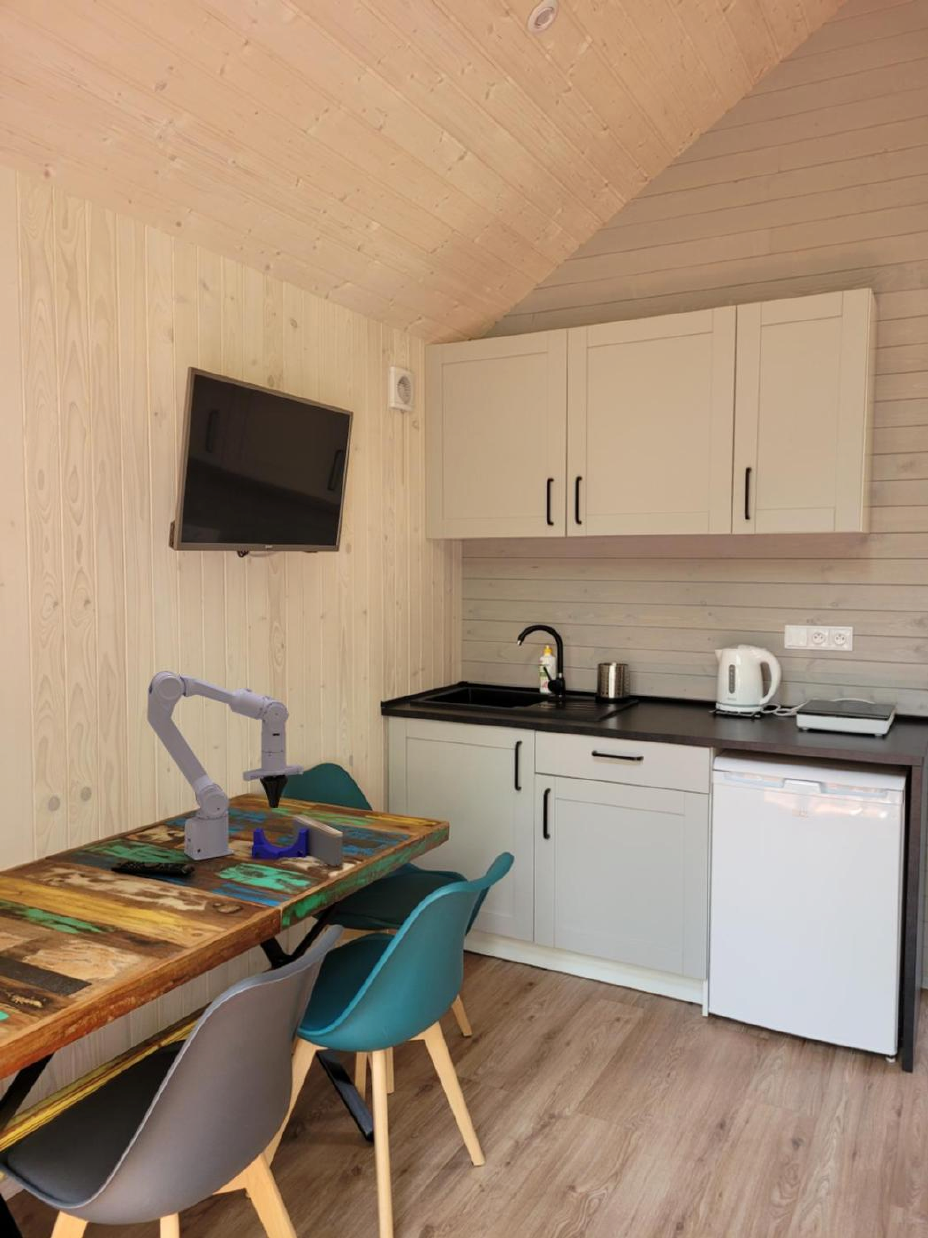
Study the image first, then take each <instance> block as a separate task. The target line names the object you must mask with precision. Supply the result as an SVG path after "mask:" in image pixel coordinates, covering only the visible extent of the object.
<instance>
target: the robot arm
mask: <svg viewBox="0 0 928 1238" xmlns="http://www.w3.org/2000/svg"><path fill="white" fill-rule="evenodd" d="M177 675H178V676H177ZM196 695H197V696H201V697H204V698H208V699H210V700H214V701H217V702H220V703H224V704H227V705H229V708H230V711H231V712H233V713H234V714H235V713H236V714H238V715H241V716H245V717H248V718H250V719H254V720H256V721H257V720H258V721H259V720H261V731H260V732H261V733H260V734H261V736H260V738H261V740H260V741H261V743H260V744H261V745H260V749H261V751H260V753H261V754H260V756H261V758H260V759H261V765H260V768H256V769H252V770H247V771H243V773H242V774H243V775H242V779H243V781H245V782H251V781H254V780H259V783H261V785H262V787H263V789H264V793H265V794H266V798H267V800H268V801H267V802H268V806H269V808H271V809H278V808H279V805H280V802H281V801H280V800H281V797H282V794H283V791H284V789H285V787H286V785H287V783H288V781H289V779H288V777H286V776H292V775H303V774H304V766H303V765H301V764H296V765H295V764H294V765H286V764H287V755H286V753H287V751H286V749H287V740H286V739H287V733H286V732H287V731H286V722H287V721H288V719H289V717H290V713H289V712H288V708H287V707H286V705H285V704H284V703H282V702H281V701H279V700H277V699H275V698H273V697H271V696H270V695H268V694H265V696H264V695H261V694H258V693H255V692H253V691H252V689H251V688H249V687H245V688H238V689H235V690H229V689H227V688H224V687H222V686H219V685H216V684H214V683H211V682H208V681H206V680H203V679H200V678H197V677H196V676H191V675H187V674H182V673H177V674H175V673H173V671H169V670H162V671H159V672H157V673H156V674H154V676H153V677H152V679H151V681H150V683H149V685H148V689H147V711H146V713H147V714H146V716H147V717H146V718H147V721H148V723H149V725H150V726H151V728H152V729H153V730H154V733H156V736H157V737H158V739H160V741H161V743H162V745H163V746H164V747H165V748H166V750H167V752H168V754H169V755H170V756H171V758H172V759H173V761H174V762H175V764H176V765H177V767H178V769H179V770H180V771H181V773H182V774H183V776H184V778H185V779H186V780H187V782H188V783H189V785H190V787H191V788H192V789H193V791H194V795H195V796H194V797H195V801H196V803H197V805H198V806H199V808H198V809H197V811H196V813H195V816H193V817H190V818H187V819H186V820H185V823H184V850H183V853H184V854H185V855H187V856H189V858H191V859H192V860H194V861H200V860H201V861H202V860H207V859H211V858H218V857H223V856H229V855H234V854H236V852H235V850H233V849H232V848H230V847H229V811H228V809H229V807H230V798H229V797H228V795H227V793H226V792H224V791H223V789H222V788H221V786H220V785H219V784H217V783H215V782H213V780H212V779H211V778H210V775H208V773H207V771H206V770H205V768H204V767H203V765H202V763H201V762H200V761H199V759H198V758H197V756H196V755H195V752H193V750H192V749H191V747H190V745H189V744H188V742H187V741H186V739H185V737H184V736H183V735H182V733H181V732H180V729H178V727H177V725H176V724H175V723H174V721H173V719H172V715H173V712H174V709H175V706H176V704H178V702H179V701H180V699H181V698H182V697H183V696H184V697H185V698H189V697H194V696H196Z"/></svg>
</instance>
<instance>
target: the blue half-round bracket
mask: <svg viewBox="0 0 928 1238" xmlns="http://www.w3.org/2000/svg"><path fill="white" fill-rule="evenodd" d="M252 835H253V838H252V839H253V841H252V842H253V844H252V845H251V859H253V860H254V859H255V860H257V859H258V860H279V859H280V858H299V857H301V859H302V858H303V859H305V858H306V857H307V856H308V855H309V854H308V829H301V830H300V831H299V836H298V839H297V841H296V843H295V844H293V843H292V845H289V846H286V847H279V846H275V845H274V844H272V843H271V842H270V841H269V840H268V839H267V837H266V835H265V833H264V828H262V827H256V828H255V829H254V830H253V834H252Z"/></svg>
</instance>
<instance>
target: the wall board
mask: <svg viewBox="0 0 928 1238" xmlns="http://www.w3.org/2000/svg"><path fill="white" fill-rule="evenodd" d="M301 829H308V855H310V856H311V857H314V858H315V857H316V859H317V858H318V860H319V859H320V861H321V862H324V864H326V865H327V864H328V865H329V864H330V865H329V866H331V867H336V865H338V866H341V865H340V864H343V862H344V861H343V857H344V856H343V854H344V853H343V851H344V850H343V846H344V843H343V839H344V837H343V836H344V833H343V832H342V831H340V830H337V829H336V828H333V827H331V826H328V825H326V824H324V823H323V822H320V821H318V820H315V819H313V818H312V817H310V816H307V815H305V814H301V813H300V814H297V815H296V814H295V815H292V845H293V844H295V843H296V841H297V839H298V836H299V831H300V830H301Z"/></svg>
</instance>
